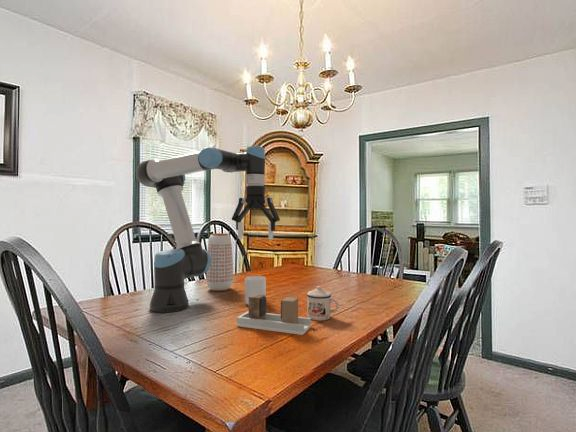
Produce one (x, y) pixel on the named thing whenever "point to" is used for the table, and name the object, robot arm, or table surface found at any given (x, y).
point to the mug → (254, 287)
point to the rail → (279, 319)
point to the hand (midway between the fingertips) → (255, 238)
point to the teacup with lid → (319, 304)
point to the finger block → (257, 306)
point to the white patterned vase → (220, 262)
